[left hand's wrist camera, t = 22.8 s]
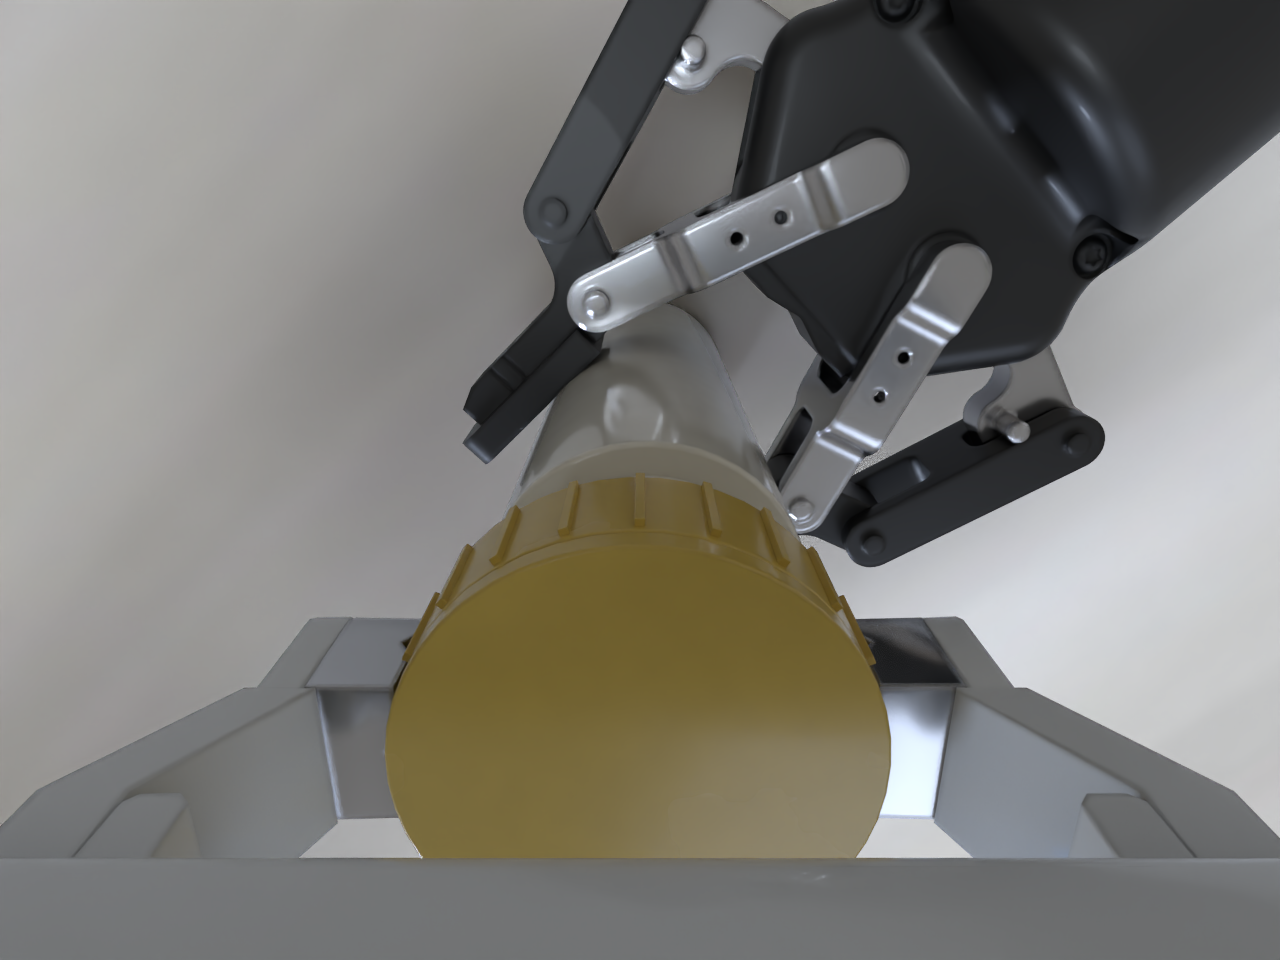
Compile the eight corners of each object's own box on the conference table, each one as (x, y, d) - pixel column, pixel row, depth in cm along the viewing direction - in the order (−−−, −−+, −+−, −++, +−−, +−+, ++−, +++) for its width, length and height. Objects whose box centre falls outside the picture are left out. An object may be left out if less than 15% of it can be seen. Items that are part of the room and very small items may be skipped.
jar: (717, 293, 24) (834, 471, 9) (725, 444, 25) (835, 797, 11) (559, 307, 24) (429, 502, 9) (577, 456, 26) (490, 819, 11)
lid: (581, 894, 12) (569, 1026, 10) (335, 610, 10) (267, 706, 8) (925, 727, 11) (983, 839, 9) (712, 382, 9) (731, 431, 7)
